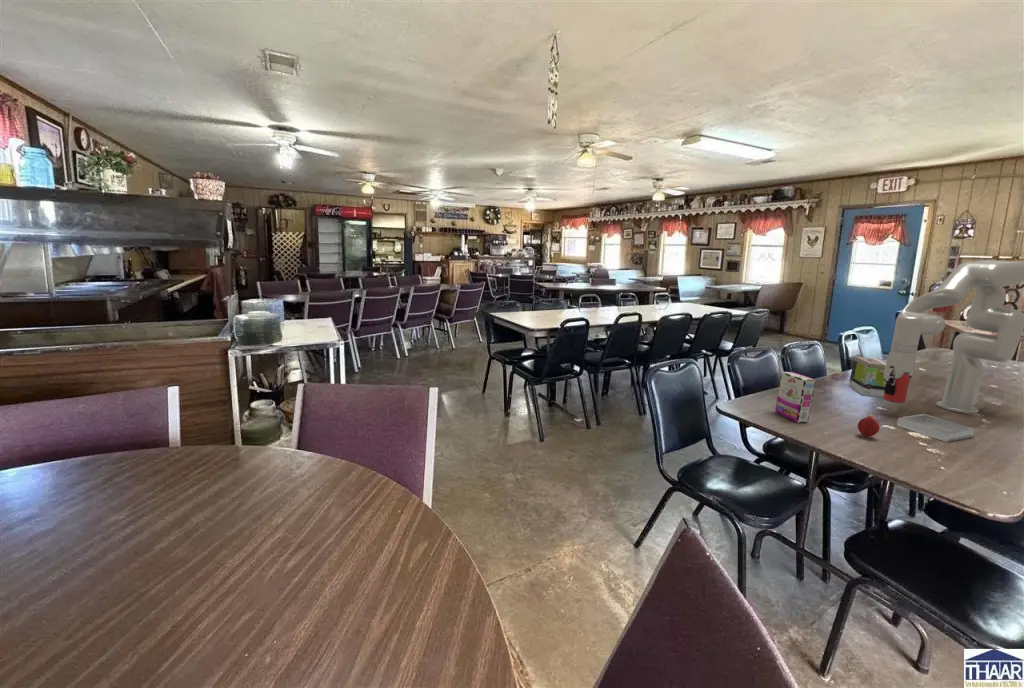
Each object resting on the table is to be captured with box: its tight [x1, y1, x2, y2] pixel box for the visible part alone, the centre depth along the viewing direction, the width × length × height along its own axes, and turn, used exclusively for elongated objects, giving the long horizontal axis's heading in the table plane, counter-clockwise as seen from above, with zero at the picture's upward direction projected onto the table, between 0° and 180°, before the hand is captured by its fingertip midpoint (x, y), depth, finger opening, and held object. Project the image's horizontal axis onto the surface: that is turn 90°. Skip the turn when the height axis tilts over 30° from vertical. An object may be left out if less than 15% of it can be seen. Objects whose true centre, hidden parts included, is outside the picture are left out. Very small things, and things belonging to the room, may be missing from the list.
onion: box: [857, 414, 880, 438], centre depth 155 cm, size 6×6×8 cm
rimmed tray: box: [896, 413, 975, 443], centre depth 163 cm, size 15×15×3 cm
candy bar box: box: [774, 371, 817, 424], centre depth 170 cm, size 11×5×16 cm, turn 12°
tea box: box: [848, 356, 886, 399], centre depth 206 cm, size 15×10×15 cm, turn 164°
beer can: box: [883, 372, 911, 404], centre depth 175 cm, size 7×7×12 cm
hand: (895, 392), depth 176 cm, fingers closed on beer can, 6 cm apart
